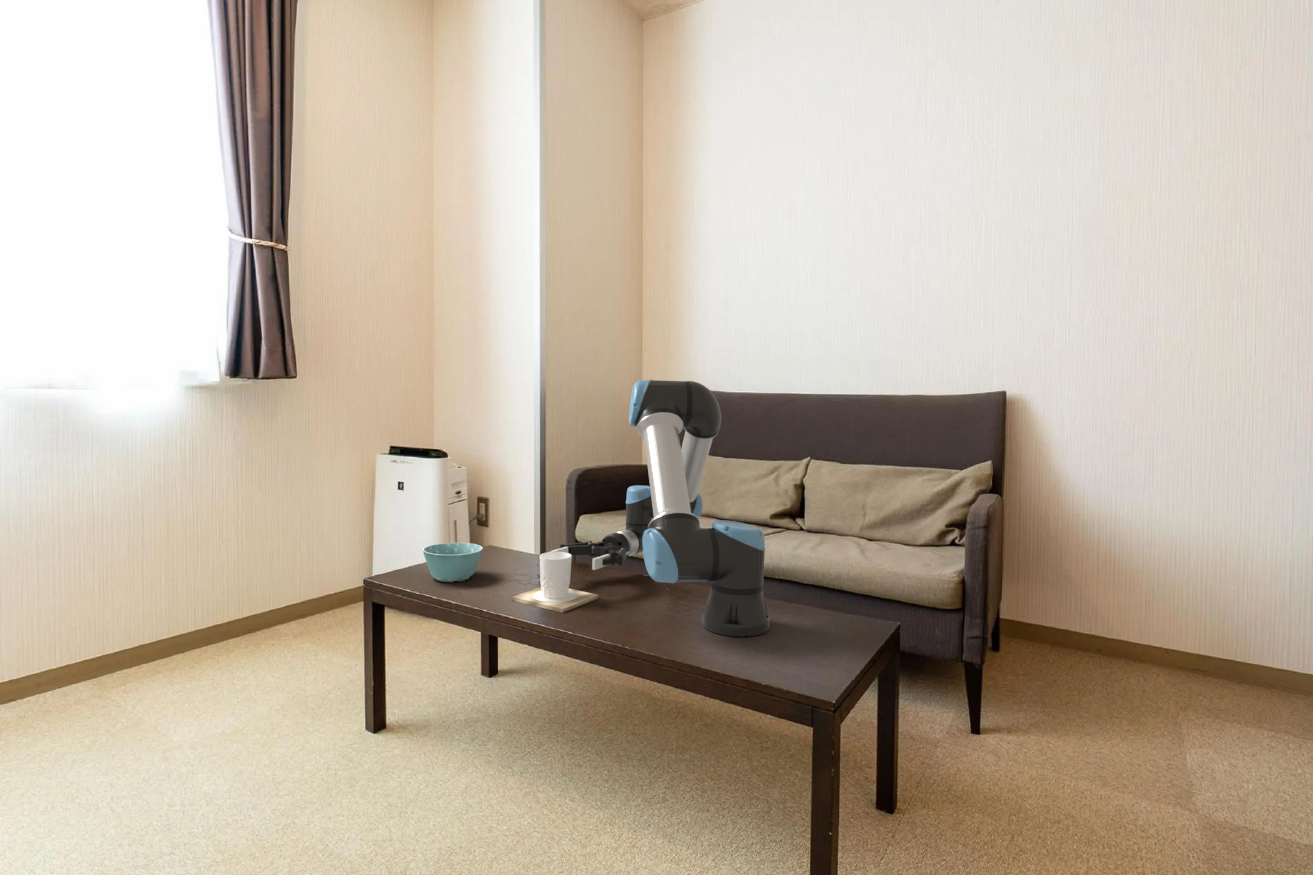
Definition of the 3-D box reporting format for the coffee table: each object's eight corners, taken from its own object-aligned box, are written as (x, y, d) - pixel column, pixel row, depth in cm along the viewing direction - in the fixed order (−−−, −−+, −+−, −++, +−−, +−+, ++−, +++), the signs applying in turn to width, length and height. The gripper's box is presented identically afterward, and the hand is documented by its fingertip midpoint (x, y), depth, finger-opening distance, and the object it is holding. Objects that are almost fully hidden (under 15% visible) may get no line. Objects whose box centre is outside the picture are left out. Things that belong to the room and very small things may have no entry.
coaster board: (598, 598, 178) (598, 594, 178) (562, 612, 166) (562, 608, 166) (549, 587, 186) (549, 583, 186) (511, 600, 174) (511, 596, 174)
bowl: (450, 567, 204) (450, 539, 203) (494, 575, 197) (494, 545, 196) (409, 580, 190) (409, 550, 189) (455, 589, 183) (455, 557, 182)
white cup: (573, 591, 180) (574, 552, 179) (567, 600, 172) (567, 560, 171) (543, 589, 180) (544, 550, 180) (535, 598, 173) (535, 558, 172)
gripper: (656, 565, 193) (611, 582, 175) (583, 552, 206) (534, 567, 188) (657, 538, 192) (612, 552, 174) (583, 526, 205) (534, 539, 187)
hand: (571, 560), depth 181 cm, fingers open, 13 cm apart
